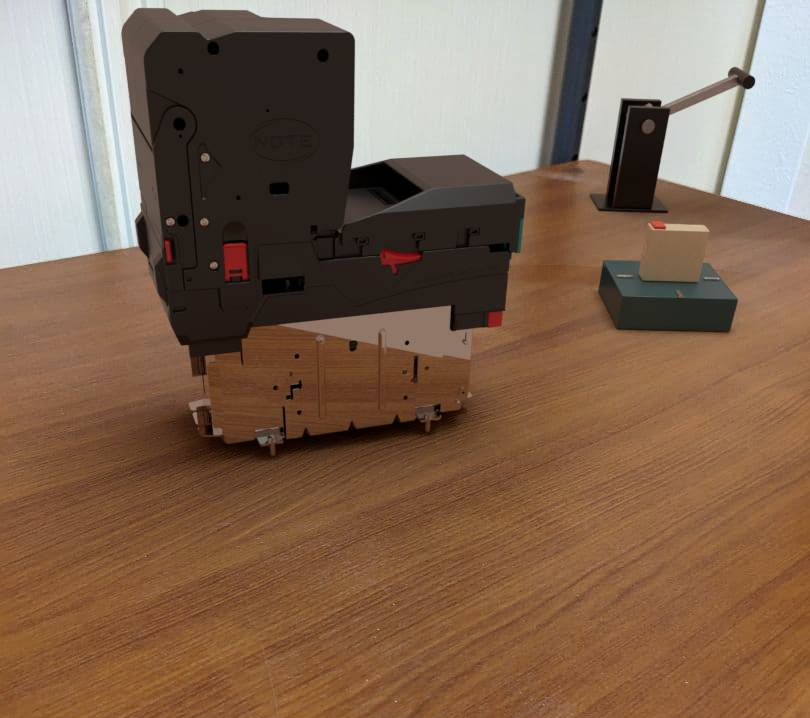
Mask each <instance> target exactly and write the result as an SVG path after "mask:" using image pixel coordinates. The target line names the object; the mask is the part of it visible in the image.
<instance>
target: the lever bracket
mask: <svg viewBox="0 0 810 718" xmlns="http://www.w3.org/2000/svg"><path fill="white" fill-rule="evenodd" d="M662 102H663V101H662V100H661V99H659V98H628V97H621V98H620V103H619V109H618V115H617V122H616V128H615V134H614V140H613V147H612V152H611V153H612V155H611V160H610V167H609V173H608V178H607V184H606V192H605V193H590V194H589V198H590V200H591V201H592V203H593V204H594V206H595V208H596V209H597V211H598V212H610V213H611V212H612V213H613V212H614V213H640V214H641V213H642V214H643V213H647V214H668V213H669V210H668V209H667V207H666V206H665V204H663V202H662V201H661V200H660V199H659V197H658V196H657V195H655V193H656V189H657V183H658V178H659V172H660V168H661V167H660V166H661V163H662V157H663V152H664V151H663V150H664V147H665V146H664V145H665V140H666V137H667V136H666V135H667V129H668V125H669V119H670V115H669V114H670V108H669V107H661V106H662ZM649 103H650V104H651V105H652V106H644V105H646V104H649ZM626 113H627V118H626Z"/></svg>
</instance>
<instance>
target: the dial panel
mask: <svg viewBox="0 0 810 718" xmlns="http://www.w3.org/2000/svg"><path fill="white" fill-rule="evenodd" d="M640 262H641V260H625V259H624V260H619V259H603V260H602V265H601V266H602V267H601V273H600V277H599V284H598V293H599V295H600V297H601V298H602V301H603V303H604V304H605V307H606V309H607V312H608V313H609V315H610V317H611V319H612V321H613V323H614V326H615V328H616V329H618V330H649V331H650V330H651V331H652V330H653V331H688V332H689V331H691V332H725V333H730V332H731V330H732V326H733V321H734V318H735V313H736V309H737V305H738V301H739V298H738V297H737V296H736V294H735V293H734V292H733V291H732V290H731V288H730V287H729V286H728V284H727V283H726V282H725V280H723V279H722V277H721V276H720V274H719V273H718V272H717V270H715V268H714V267H713V266H712V264H711V263H710V262H703V264H702V269H701V273H700V277H699V282H674V281H643V280H642V278H641V277H640V275H639V268H640Z"/></svg>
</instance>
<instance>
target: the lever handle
mask: <svg viewBox="0 0 810 718" xmlns="http://www.w3.org/2000/svg"><path fill="white" fill-rule="evenodd" d="M755 84H756V78H755V77H754V76H753V75H751V74H750V73H748V72H746V71H745V70H743V69H741V68H739V67H737V66H733V67H731V68H730V69H729V70H728V72H727V77H726V78H723V79H720V80H719V81H716V82H714V83H712V84H709V85H707V86H705V87H702V88H700V89H698V90H696V91H693V92H691V93H688V94H687V95H684V96H682V97H680V98H679V97H678V98H677V99H675V100H673V101H670V102H668V103H666V104H664V105H661V107H669V108H670V114H669V116H671V115H674V114H676V113H678V112H681V111H683V110H686V109H688V108H690V107H693V106H695V105H697V104H699V103H701V102H704V101H706V100H709V99H711V98H714V97H716V96H718V95H720V94H723V93H725V92H727V91H730V90H732V89H734V88H736V87H739V86H740V87H741V88H743V89H745V90H751V89H753V88H754V86H755ZM644 106H652V105H651V104H650V103H649V104H646V105H644ZM626 118H627V113H626Z"/></svg>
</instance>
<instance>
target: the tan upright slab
mask: <svg viewBox="0 0 810 718" xmlns="http://www.w3.org/2000/svg"><path fill="white" fill-rule="evenodd" d="M710 233H711V231H710V230H709V229H708V227H706V225H705V224H686V223H684V224H683V223H682V224H681V223H664V221H662V220H650V223H649V222H647V226H646V231H645V236H644V242H643V245H642V246H643V247H642V253H641V258H640V261H641V262H640V268H639V275H640V277H641V278H642V280H643V281H674V282H699V277H700V273H701V269H702V264H703V263H704V260H705V255H706V250H707V248H708V247H707V246H708V243H709V237H710Z"/></svg>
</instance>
